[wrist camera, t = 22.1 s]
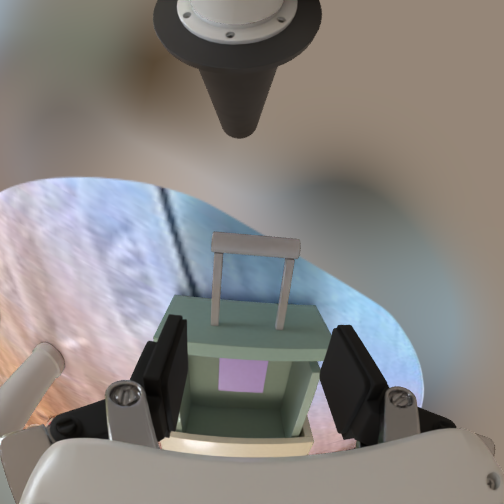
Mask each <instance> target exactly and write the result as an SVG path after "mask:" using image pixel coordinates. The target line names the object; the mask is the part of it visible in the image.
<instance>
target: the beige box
mask: <svg viewBox="0 0 504 504" xmlns="http://www.w3.org/2000/svg"><path fill="white" fill-rule="evenodd" d="M313 443H314V440H313V436H312V432H311V428H310V424H309V420H308V417H307V416H306V419H305V421H304V424H303V426H302V429H301V432H300V434H299V437H295V438H233V437H218V436H207V435H198V434H189V433H182V432H173V431H171V433H170V438H166V437H165V438H164V439H163V440H161V445H162V449H163V450H169V451H176V452H184V453H191V454H200V455H211V456H224V457H291V456H305V455H308V453H309V451H310V449H311V447H312V445H313Z"/></svg>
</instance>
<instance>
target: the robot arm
mask: <svg viewBox="0 0 504 504" xmlns="http://www.w3.org/2000/svg"><path fill="white" fill-rule="evenodd" d="M297 3H298V1H297V0H178V2H177V11H178V15H179V18H180V20H181V22H182V23H183V25H184V26H185V28H187V29H188V30H189V31H190V32H191V33H193V34H194V35H196V36H198V37H199V38H202V39H205V40H207V41H210V42H215V43H220V44H230V45H237V44H249V43H255V42H259V41H262V40H266V39H269V38H271V37H273V36H275V35H277V34H279V33H280V32H281V31H283V30H284V29H286V27H287V26H288V25H289V24H290V23H291V22H292V20H293V18H294V16H295V13H296V10H297ZM229 37H233V38H229ZM187 374H188V347H187V319H183V317H182V315H174V314H169V315H168V317H167V320H166V322H165V324H164V327H163V329H162V331H161V334H160V336H159V338H158V341H157V342H153V341H148V342H147V343H146V345H145V348H144V350H143V352H142V354H141V356H140V358H139V361H138V363H137V365H136V367H135V369H134V372H133V374H132V376H131V378H130V380H121V381H117V382H114V383H112V384H111V385H110V386H109V387H108V388H107V390H106V393H105V399H104V400H101V401H98V402H95V403H93V404H90V405H87V406H84V407H81V408H78V409H75V410H72V411H68V412H65V413H62V414H60V415H57V416H56V417H55V418H54V419H53V420H52V421H51V423H50V426H47V427H45V426H44V424H42V425H39V426H35V427H32V428H28V429H24V430H20V431H16V432H12V433H8V434H5V435H3V436H2V437H1V438H0V457H1V461H2V465H3V468H4V472H5V475H6V478H7V481H8V484H9V487H10V489H11V492H12V495H13V497H14V500H15V502H16V504H504V474H503V472H502V470H501V468H500V466H499V465H498V463H497V461H496V460H495V458H494V454H495V445H494V442H493V441H492V440H491V439H490V438H488V437H485V436H482V435H479V434H476V433H474V432H472V431H470V430H467V429H461V428H456V426H455V424H454V423H453V422H452V421H451V420H449V419H447V418H445V417H442V416H440V415H437V414H434V413H431V412H429V411H427V410H424V409H422V408H419V407H417V400H416V397H415V395H414V394H413V393H412V392H411V391H410V390H408V389H406V388H403V387H396V386H395V387H391V388H389V386H388V385H387V382H386V380H385V378H384V377H383V375H382V373H381V372H380V370H379V368H378V367H377V365H376V364H375V362H374V360H373V359H372V357H371V356H370V354H369V352H368V351H367V349H366V348H365V346H364V344H363V343H362V341H361V340H360V338H359V337H358V335H357V333H356V332H355V330H354V329H353V327H352V326H351V325H338V327H337V328H334V329H333V332H332V336H331V339H330V342H329V346H328V349H327V352H326V355H325V358H324V361H323V364H322V368H321V371H320V376H319V377H320V381H321V384H322V387H323V390H324V393H325V396H326V399H327V402H328V405H329V408H330V411H331V413H332V416H333V419H334V422H335V425H336V428H337V431H338V433H339V434H342V437H343V439H344V440H345V439H352V438H354V439H355V440H357V441H356V448H355V449H351V450H345V451H339V452H332V453H324V454H315V455H305V456H291V457H224V456H211V455H200V454H191V453H184V452H176V451H169V450H163V449H160V448H159V445H158V442H159V441H161V440H163V439H164V438H165V437H166V438H170V433H171V431H173V432H175V431H176V427H177V422H178V417H179V412H180V407H181V402H182V397H183V393H184V388H185V383H186V379H187Z"/></svg>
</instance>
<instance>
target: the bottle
mask: <svg viewBox="0 0 504 504" xmlns="http://www.w3.org/2000/svg"><path fill="white" fill-rule="evenodd" d="M64 365H65V363H64V360H63V357H62V356H61V354H60V353H59V351H58V350H57V349H56V348H55V347H53V346H52V345H51V344H48V343H46V342H45V343H40V344H38V345H37V346H36V347H35V348H34V349H33V351H32V354H31V355H30V356H29V357H28V358H27V359H26V360H25V361H24V362H23V363H22V364H21V366H20V367H19V368H18V369H17V370H16V371H15V372H14V373H13V374H12V375H11V376H10V377H9V378H8V380H7V381H6V382H5V383H4V384H3V385H2V386H1V387H0V438H1V437H2V436H3V435H5V434H8V433H12V432H16V431H20V430H22V429H23V428H24V426H25V424H26V423H27V421H28V419H29V418H30V416H31V415H32V413H33V411H34V410H35V408H36V407H37V405H38V404H39V402H40V401H41V399H42V397H43V396H44V394H45V393H46V391H47V390H48V389H49V387H50V386H51V384H52V383H53V381H54V380H55V378H58V377H59V376H60V375H61V373H62V372H63V370H64Z"/></svg>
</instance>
